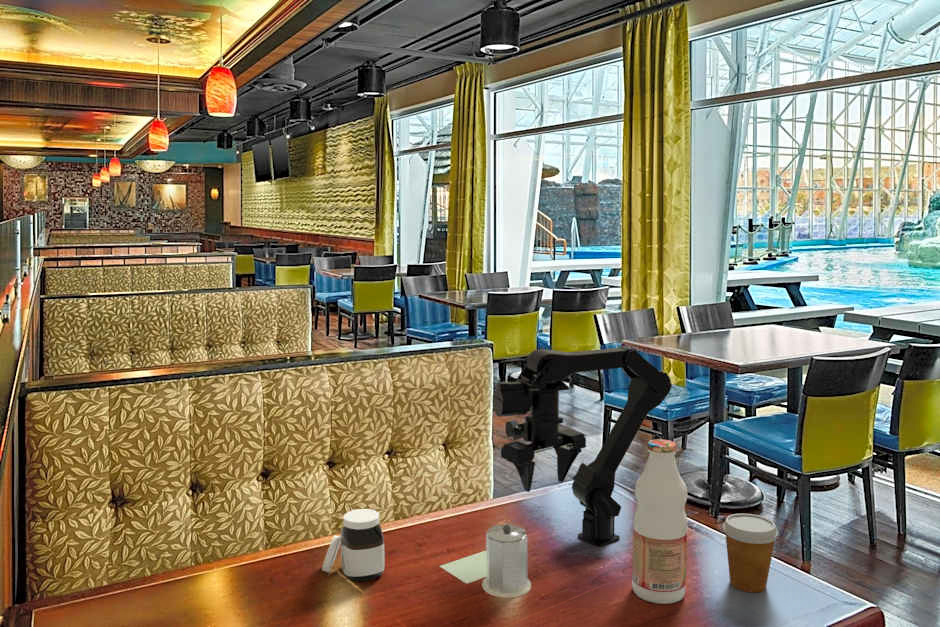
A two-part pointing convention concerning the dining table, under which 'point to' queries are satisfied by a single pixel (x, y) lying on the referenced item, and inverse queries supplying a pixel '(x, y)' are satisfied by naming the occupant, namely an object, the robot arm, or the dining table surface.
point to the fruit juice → (660, 528)
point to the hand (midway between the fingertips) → (544, 486)
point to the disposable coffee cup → (749, 550)
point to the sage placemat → (468, 567)
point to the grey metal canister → (506, 558)
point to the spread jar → (359, 546)
